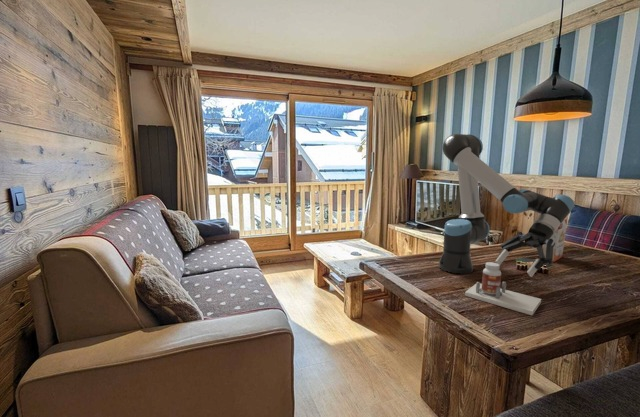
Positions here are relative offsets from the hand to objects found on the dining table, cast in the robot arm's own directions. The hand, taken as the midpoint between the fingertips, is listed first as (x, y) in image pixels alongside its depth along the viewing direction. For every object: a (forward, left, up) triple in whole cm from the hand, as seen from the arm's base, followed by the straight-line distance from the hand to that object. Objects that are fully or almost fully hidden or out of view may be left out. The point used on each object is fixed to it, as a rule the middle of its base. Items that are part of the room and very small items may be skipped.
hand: (512, 268), depth 120 cm
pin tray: (0, -10, -10) cm, 14 cm away
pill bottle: (-4, -9, -8) cm, 13 cm away
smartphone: (-1, +46, -10) cm, 48 cm away
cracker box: (+4, +62, -10) cm, 62 cm away
